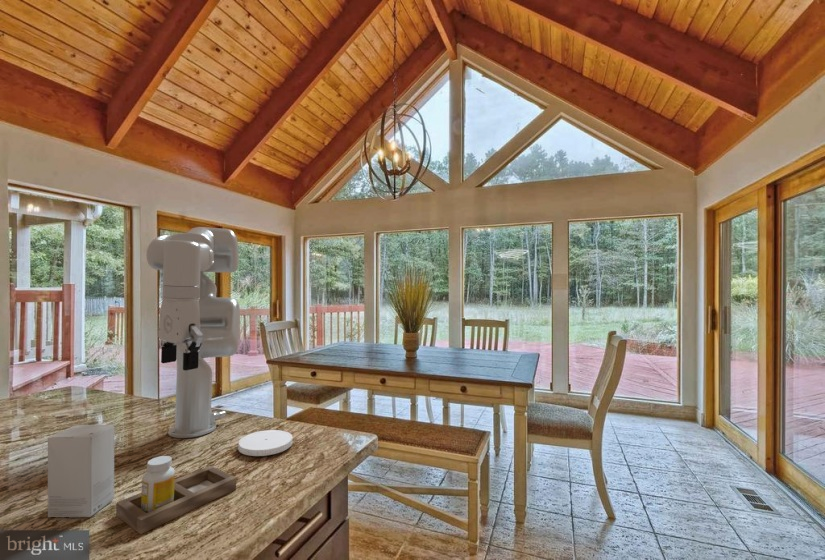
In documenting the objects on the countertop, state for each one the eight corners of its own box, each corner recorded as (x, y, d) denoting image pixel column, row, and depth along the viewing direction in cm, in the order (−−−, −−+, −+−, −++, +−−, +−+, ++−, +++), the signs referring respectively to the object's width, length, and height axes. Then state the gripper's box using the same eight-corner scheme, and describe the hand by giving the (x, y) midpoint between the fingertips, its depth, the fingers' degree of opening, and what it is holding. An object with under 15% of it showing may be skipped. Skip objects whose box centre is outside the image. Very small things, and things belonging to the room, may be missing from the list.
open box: (210, 476, 89) (210, 465, 89) (236, 489, 84) (236, 477, 84) (115, 515, 73) (116, 502, 73) (140, 534, 68) (141, 520, 68)
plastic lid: (226, 456, 100) (226, 446, 100) (258, 436, 114) (259, 427, 114) (274, 463, 97) (274, 453, 97) (301, 441, 111) (301, 432, 111)
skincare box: (114, 500, 78) (118, 423, 79) (88, 519, 72) (92, 436, 72) (73, 500, 78) (76, 423, 78) (42, 519, 71) (46, 435, 72)
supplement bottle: (134, 518, 72) (136, 467, 72) (151, 502, 77) (152, 454, 78) (164, 517, 73) (166, 466, 73) (179, 501, 78) (180, 454, 78)
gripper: (145, 291, 91) (144, 362, 91) (184, 296, 82) (182, 375, 82) (178, 290, 97) (176, 357, 98) (218, 295, 88) (215, 368, 89)
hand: (179, 365), depth 90 cm, fingers open, 9 cm apart
